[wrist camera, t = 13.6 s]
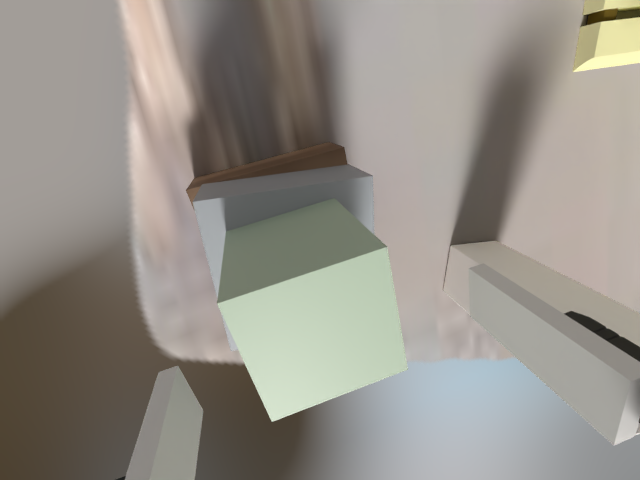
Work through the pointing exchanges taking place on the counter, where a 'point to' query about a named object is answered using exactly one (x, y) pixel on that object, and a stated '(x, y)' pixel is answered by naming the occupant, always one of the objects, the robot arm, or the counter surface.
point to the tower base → (276, 165)
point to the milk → (537, 286)
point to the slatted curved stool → (608, 36)
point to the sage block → (310, 306)
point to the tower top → (275, 205)
